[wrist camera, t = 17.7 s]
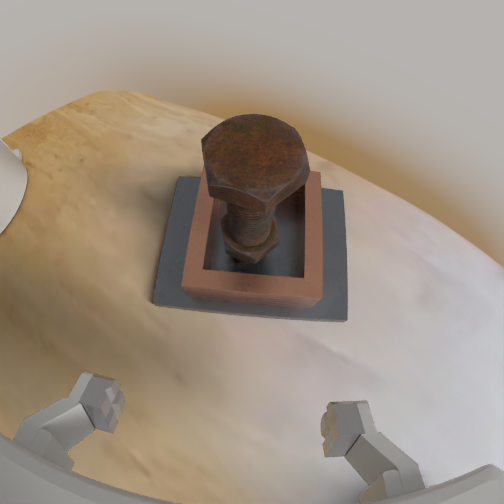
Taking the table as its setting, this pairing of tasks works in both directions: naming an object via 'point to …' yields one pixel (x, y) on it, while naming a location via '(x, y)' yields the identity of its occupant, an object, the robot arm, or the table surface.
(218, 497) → the table surface
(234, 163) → the bolt
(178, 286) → the socket
